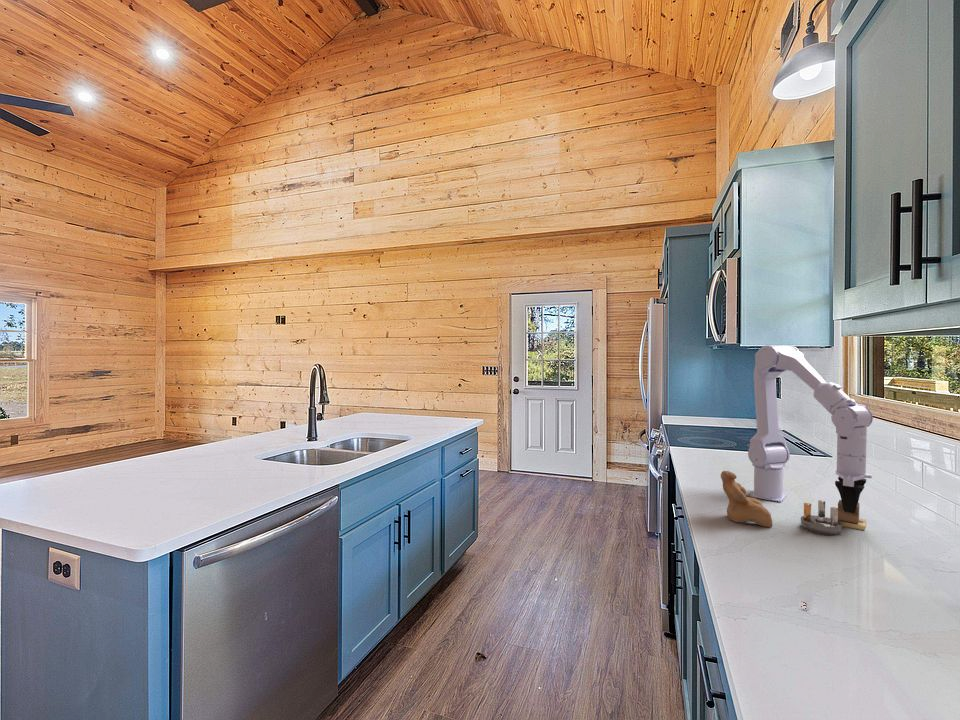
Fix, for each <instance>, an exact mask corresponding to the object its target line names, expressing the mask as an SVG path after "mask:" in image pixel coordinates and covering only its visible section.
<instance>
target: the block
mask: <svg viewBox="0 0 960 720" xmlns="http://www.w3.org/2000/svg"><path fill="white" fill-rule="evenodd" d="M837 508H838V520H842V521H848V522H853V523H858V522H859V518H860V502H858V503H857V508H856V511H855V513H850V512H844V509H843V506H842V500H841V499H839V500H838V502H837Z"/></svg>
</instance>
